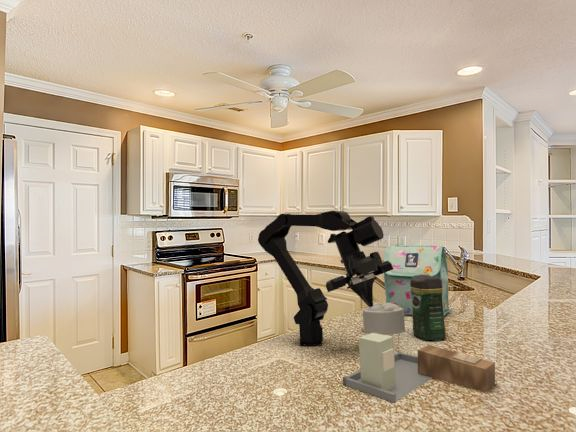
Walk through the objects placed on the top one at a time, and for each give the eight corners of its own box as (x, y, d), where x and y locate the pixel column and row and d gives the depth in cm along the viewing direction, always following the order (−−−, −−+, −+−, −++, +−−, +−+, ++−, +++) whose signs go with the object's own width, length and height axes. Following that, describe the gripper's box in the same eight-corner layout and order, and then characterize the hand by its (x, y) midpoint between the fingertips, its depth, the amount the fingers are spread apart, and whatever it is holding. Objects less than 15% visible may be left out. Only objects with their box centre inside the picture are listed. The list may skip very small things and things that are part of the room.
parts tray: (343, 387, 75) (342, 377, 76) (399, 360, 90) (398, 351, 90) (393, 405, 67) (393, 394, 67) (446, 372, 81) (446, 363, 81)
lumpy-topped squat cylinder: (409, 332, 115) (407, 304, 116) (374, 337, 111) (372, 308, 112) (390, 324, 125) (388, 299, 126) (357, 329, 121) (355, 303, 121)
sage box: (361, 387, 74) (358, 337, 74) (375, 379, 77) (372, 332, 78) (383, 394, 70) (380, 342, 71) (397, 386, 73) (394, 337, 74)
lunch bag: (382, 315, 140) (378, 245, 142) (395, 307, 154) (392, 244, 155) (444, 320, 127) (439, 244, 129) (453, 311, 141) (449, 242, 142)
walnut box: (417, 348, 80) (485, 367, 69) (428, 343, 83) (494, 360, 73) (417, 372, 80) (485, 395, 69) (428, 366, 83) (495, 387, 73)
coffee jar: (451, 340, 105) (446, 276, 106) (425, 342, 103) (421, 277, 104) (432, 331, 114) (428, 272, 115) (409, 333, 113) (405, 274, 114)
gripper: (329, 255, 91) (352, 315, 87) (391, 235, 96) (415, 292, 92) (317, 264, 101) (336, 318, 97) (373, 246, 106) (394, 297, 103)
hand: (371, 306), depth 97 cm, fingers closed
